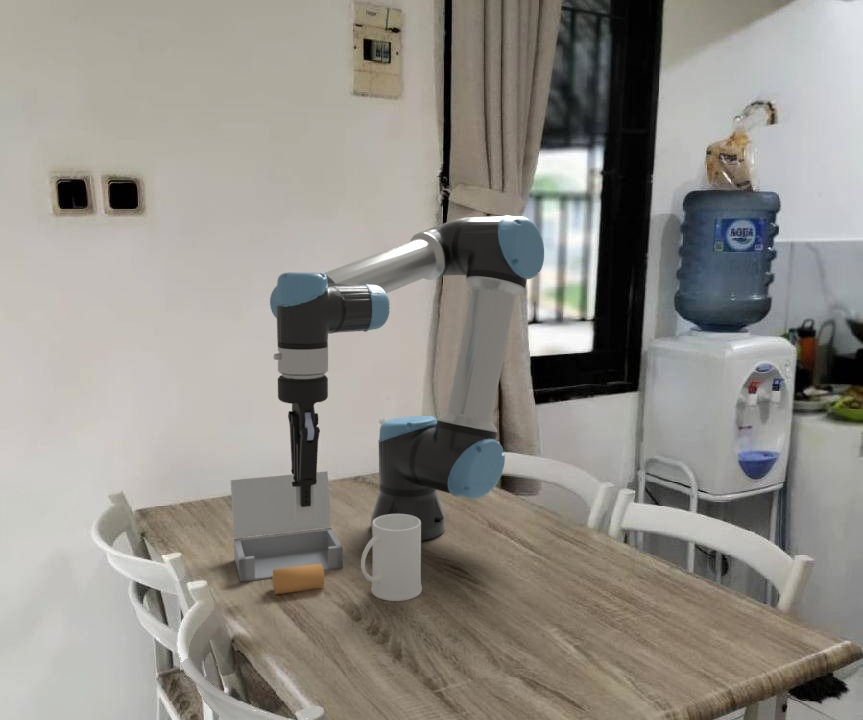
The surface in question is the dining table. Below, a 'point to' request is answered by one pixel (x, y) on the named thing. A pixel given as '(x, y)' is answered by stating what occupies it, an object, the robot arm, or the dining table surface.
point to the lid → (274, 505)
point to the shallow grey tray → (286, 552)
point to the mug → (395, 557)
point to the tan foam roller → (298, 578)
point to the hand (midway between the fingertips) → (304, 523)
